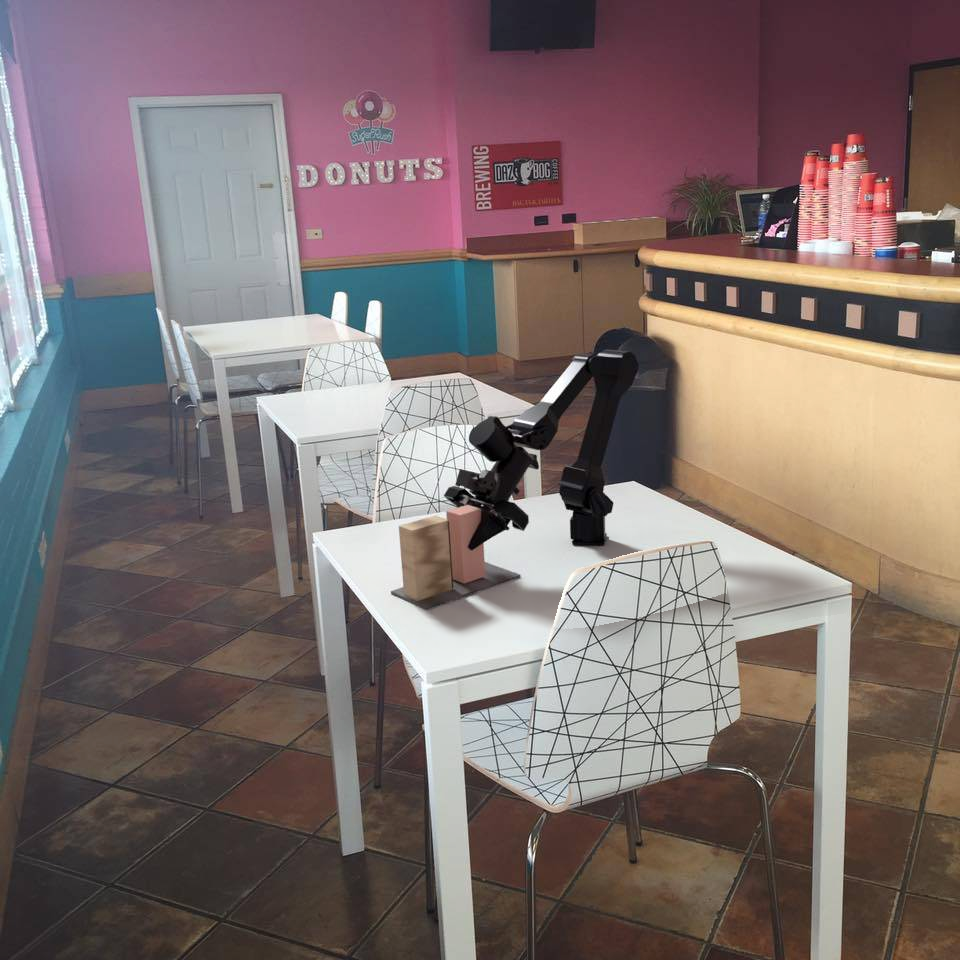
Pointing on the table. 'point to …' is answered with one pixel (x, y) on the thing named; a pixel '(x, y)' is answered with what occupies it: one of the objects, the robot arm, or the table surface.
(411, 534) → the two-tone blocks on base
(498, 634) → the table surface
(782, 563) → the table surface
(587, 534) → the robot arm
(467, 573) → the stub
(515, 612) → the table surface
